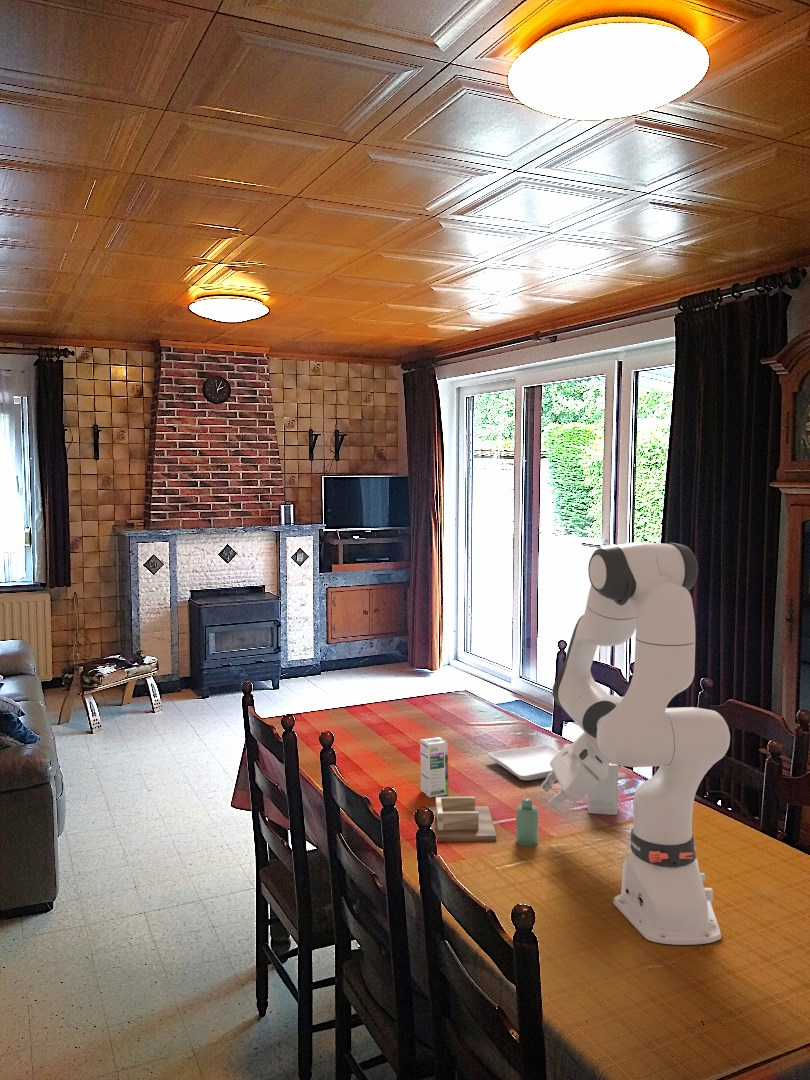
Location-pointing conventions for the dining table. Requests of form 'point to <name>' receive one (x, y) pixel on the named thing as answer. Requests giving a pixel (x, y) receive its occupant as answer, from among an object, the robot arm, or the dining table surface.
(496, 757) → the salad plate
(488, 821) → the u rest
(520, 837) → the green bottle
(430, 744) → the syrup box
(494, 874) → the dining table surface
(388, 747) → the dining table surface
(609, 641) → the robot arm
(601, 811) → the supplement box
